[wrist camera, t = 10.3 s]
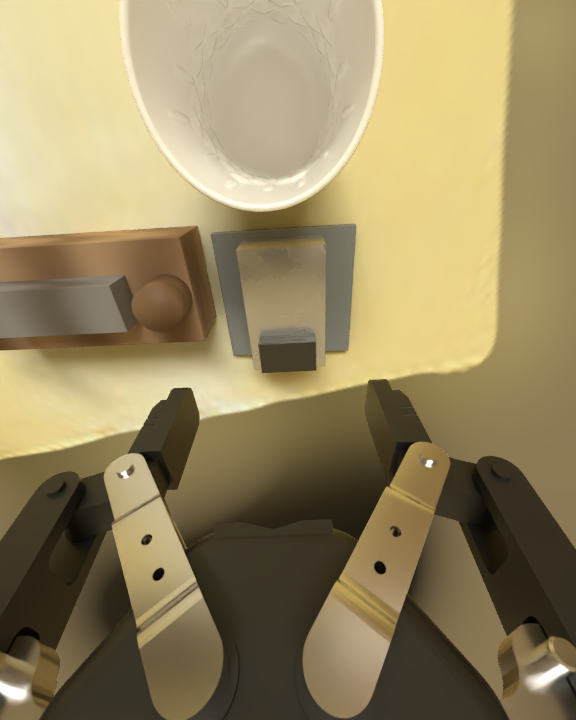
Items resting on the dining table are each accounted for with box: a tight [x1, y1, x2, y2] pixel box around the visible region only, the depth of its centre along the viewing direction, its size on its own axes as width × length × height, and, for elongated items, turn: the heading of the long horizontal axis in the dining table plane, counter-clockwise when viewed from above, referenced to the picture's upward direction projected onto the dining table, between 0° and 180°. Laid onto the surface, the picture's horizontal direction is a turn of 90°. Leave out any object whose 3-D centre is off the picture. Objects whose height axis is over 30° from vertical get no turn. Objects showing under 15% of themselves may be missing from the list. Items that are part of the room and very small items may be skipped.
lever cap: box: [236, 235, 326, 373], centre depth 21 cm, size 9×6×4 cm, turn 4°
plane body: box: [0, 226, 216, 350], centre depth 19 cm, size 17×7×8 cm, turn 93°
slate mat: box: [211, 224, 356, 356], centre depth 23 cm, size 10×10×1 cm
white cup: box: [120, 0, 384, 212], centre depth 13 cm, size 8×8×10 cm
